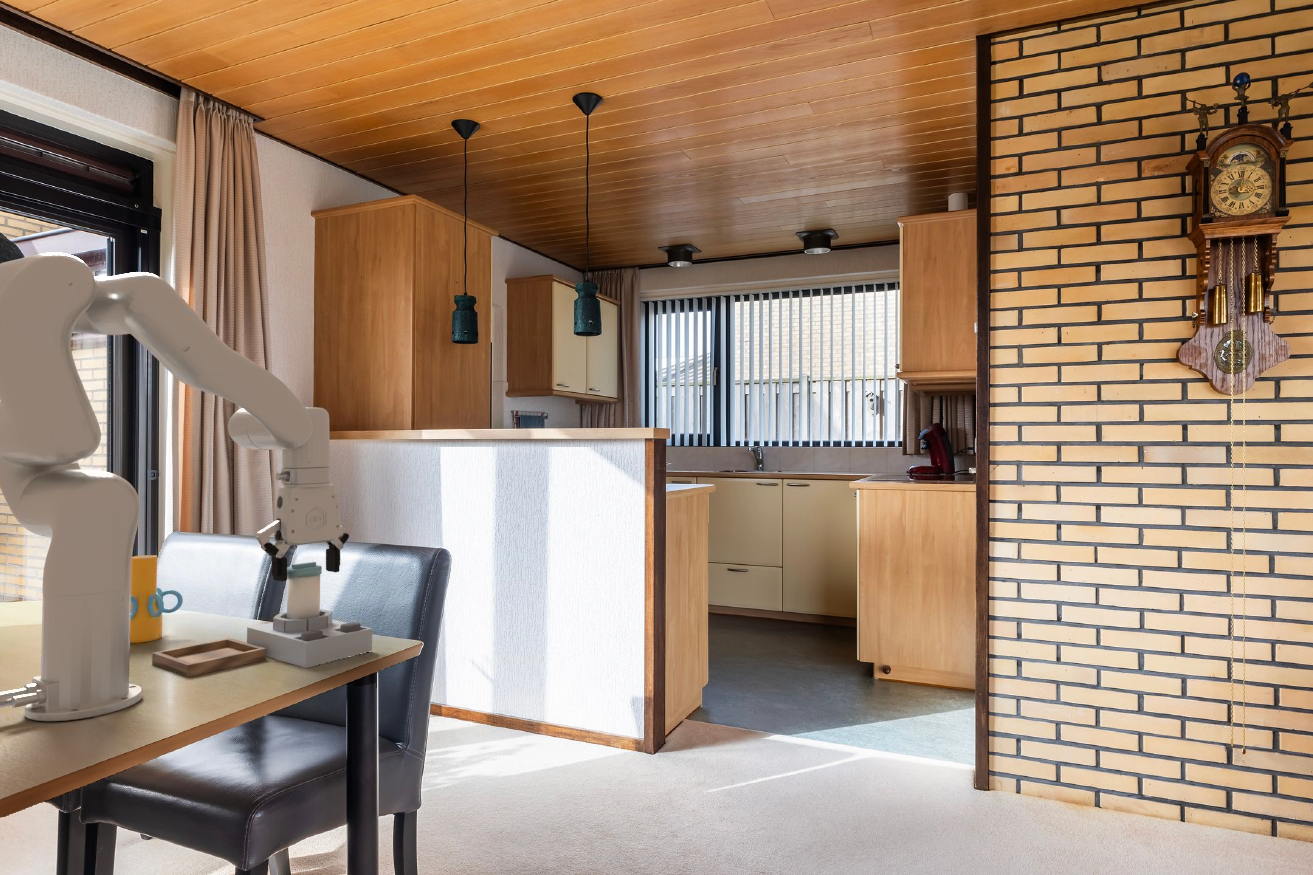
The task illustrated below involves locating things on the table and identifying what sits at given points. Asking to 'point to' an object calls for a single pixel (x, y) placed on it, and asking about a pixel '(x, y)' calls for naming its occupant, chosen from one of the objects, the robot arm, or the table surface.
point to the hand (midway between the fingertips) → (307, 575)
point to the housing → (289, 647)
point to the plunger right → (350, 627)
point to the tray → (208, 656)
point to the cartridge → (303, 590)
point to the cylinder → (147, 600)
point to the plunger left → (311, 635)
